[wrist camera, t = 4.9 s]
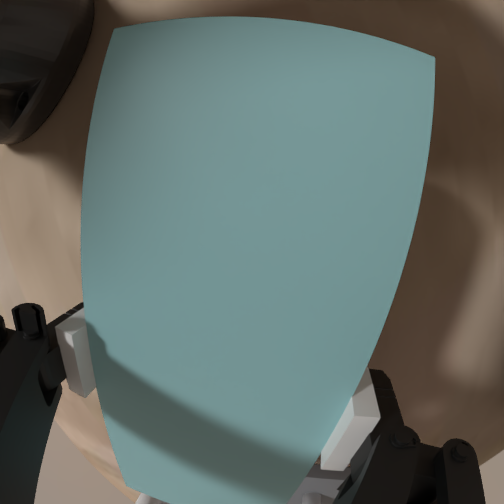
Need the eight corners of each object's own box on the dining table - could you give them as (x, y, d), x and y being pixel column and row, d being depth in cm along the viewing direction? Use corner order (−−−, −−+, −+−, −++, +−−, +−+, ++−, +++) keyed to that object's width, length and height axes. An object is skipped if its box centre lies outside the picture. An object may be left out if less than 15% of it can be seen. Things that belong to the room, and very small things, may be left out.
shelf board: (273, 494, 12) (267, 527, 10) (143, 457, 13) (126, 485, 11) (403, 85, 7) (435, 57, 4) (154, 55, 8) (114, 28, 5)
